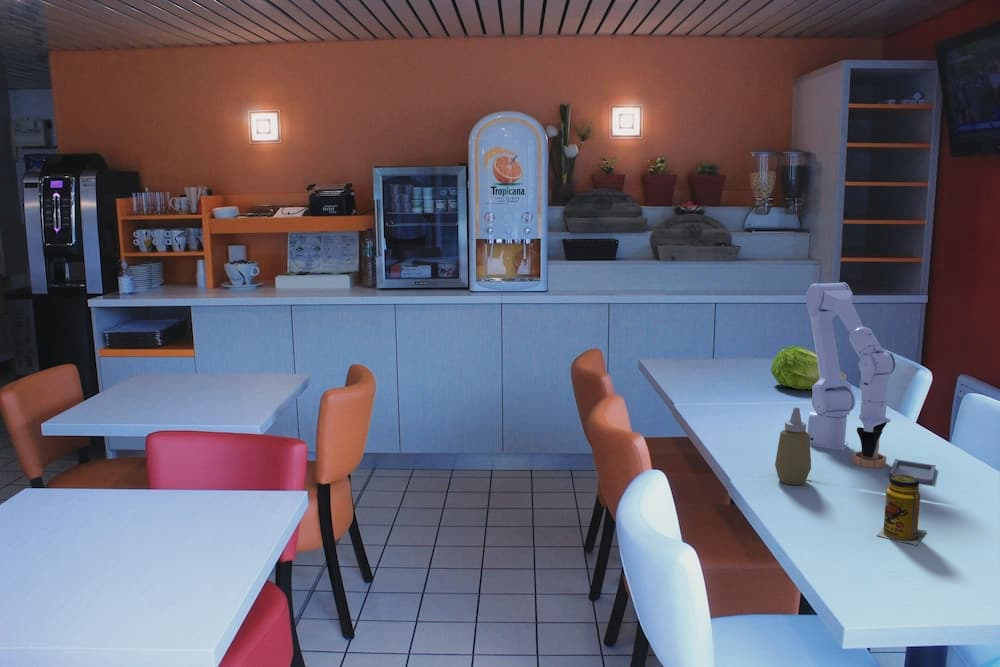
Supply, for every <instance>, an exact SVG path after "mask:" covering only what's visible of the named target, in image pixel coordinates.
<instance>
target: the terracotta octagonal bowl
mask: <svg viewBox="0 0 1000 667" xmlns="http://www.w3.org/2000/svg"><path fill="white" fill-rule="evenodd" d="M861 451H862V450H861ZM861 451H860V450H859V451H854V452H853V454H852V459H851V462H852V463H854V465H857V466H860V467H864V468H871V469H878V468H879V469H880V468H881V469H882V468H886V466H887V456H886V455H883V454H882V453H879V452H878V460H868V459H862V458H861Z"/></svg>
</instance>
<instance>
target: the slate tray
mask: <svg viewBox="0 0 1000 667" xmlns="http://www.w3.org/2000/svg"><path fill="white" fill-rule="evenodd" d="M936 466H937V465H934V464H928V463H924V462H923V463H922V462H915V461H911V460H910V461H909V460H902V459H898V458H895V459H894V461H893V464H892V465H891V469H890V471H889V474H888V478H889V479H890V477H891V476H892V475H908V476H911V477H914V478H916V479H918V480H919V484H926V485H931V486H932V485H933V481H934V477H935V472H936Z"/></svg>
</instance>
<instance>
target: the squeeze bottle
mask: <svg viewBox="0 0 1000 667" xmlns="http://www.w3.org/2000/svg"><path fill="white" fill-rule="evenodd" d="M791 413H792V414H791V416H790V420H786V421H785V423H784V429H783V430H781V431H780V433H779V439H778V445H777V450H776V457H775V461H774V462H775V463H774V467H775V470H776V474H777V478H778V479H779V481H780V482H782V483H784V484H787V485H794V486H795V485H796V486H800V485H804V484H805V483H806V481H807V478H808V476H809V475H810V472H811V469H812V458H811V445H810V435H809V434H808V431H807V424H806V422H803V421H802V417H801V410H800V408H799V407H793V408H792V412H791Z"/></svg>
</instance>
